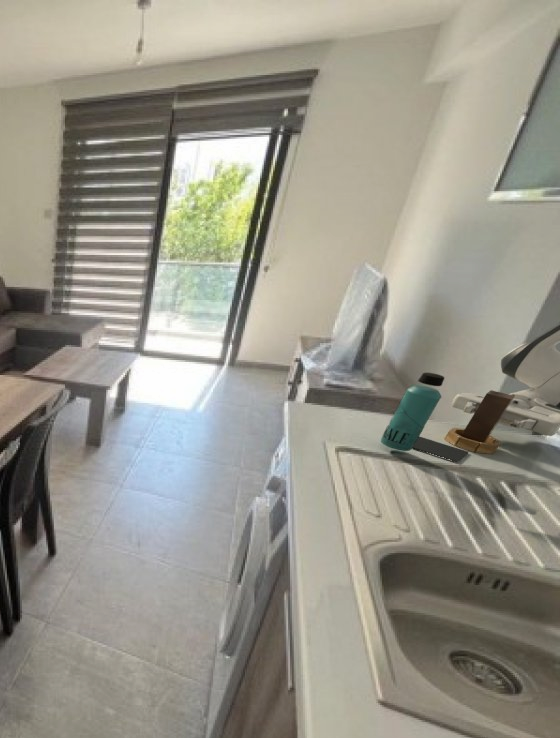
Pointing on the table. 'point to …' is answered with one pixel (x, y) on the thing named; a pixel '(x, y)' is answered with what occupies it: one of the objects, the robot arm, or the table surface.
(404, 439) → the beverage bottle
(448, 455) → the mat
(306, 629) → the table surface
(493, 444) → the ring stand
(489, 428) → the peg
